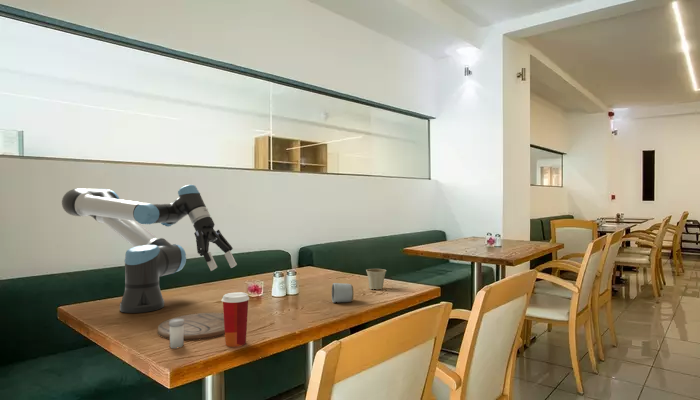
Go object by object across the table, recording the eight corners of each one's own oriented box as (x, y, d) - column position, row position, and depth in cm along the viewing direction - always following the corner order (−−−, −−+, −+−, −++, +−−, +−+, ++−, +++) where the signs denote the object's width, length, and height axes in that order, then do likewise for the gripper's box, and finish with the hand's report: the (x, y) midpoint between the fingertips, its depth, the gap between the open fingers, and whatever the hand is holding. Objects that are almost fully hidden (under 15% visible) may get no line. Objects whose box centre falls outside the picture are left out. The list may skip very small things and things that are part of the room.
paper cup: (247, 338, 127) (247, 291, 127) (251, 346, 120) (251, 296, 120) (220, 341, 124) (220, 293, 124) (222, 349, 117) (222, 298, 117)
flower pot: (376, 286, 204) (376, 267, 204) (390, 289, 197) (390, 270, 197) (361, 288, 198) (361, 270, 198) (375, 292, 191) (375, 272, 191)
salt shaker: (166, 347, 119) (166, 321, 119) (175, 343, 123) (175, 318, 123) (178, 349, 118) (178, 322, 118) (186, 344, 122) (186, 319, 122)
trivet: (208, 314, 155) (208, 309, 155) (256, 325, 141) (256, 320, 141) (141, 331, 135) (141, 325, 135) (189, 347, 120) (189, 340, 120)
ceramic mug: (354, 303, 169) (354, 284, 170) (333, 304, 168) (333, 284, 168) (349, 298, 180) (349, 279, 180) (329, 298, 178) (329, 280, 178)
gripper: (188, 214, 157) (212, 265, 153) (226, 216, 181) (248, 260, 177) (173, 224, 159) (197, 275, 155) (213, 225, 183) (234, 269, 178)
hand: (224, 267), depth 166 cm, fingers open, 13 cm apart
